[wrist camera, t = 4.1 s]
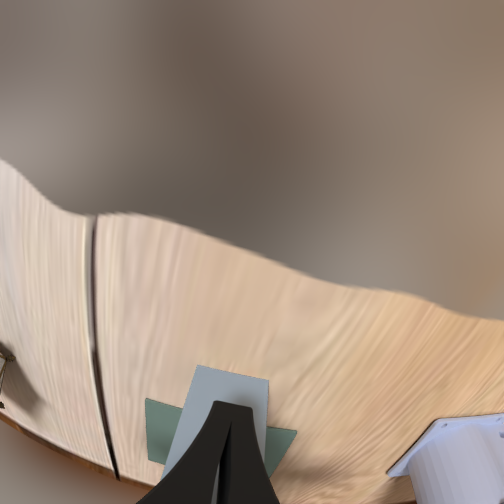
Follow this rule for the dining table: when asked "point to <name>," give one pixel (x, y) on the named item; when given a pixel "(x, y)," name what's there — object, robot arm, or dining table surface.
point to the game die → (3, 370)
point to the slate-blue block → (200, 402)
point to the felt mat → (165, 424)
